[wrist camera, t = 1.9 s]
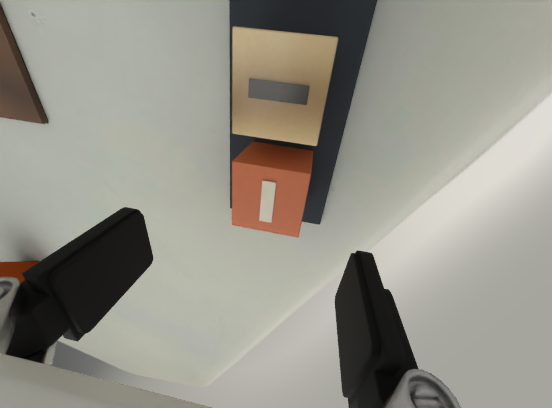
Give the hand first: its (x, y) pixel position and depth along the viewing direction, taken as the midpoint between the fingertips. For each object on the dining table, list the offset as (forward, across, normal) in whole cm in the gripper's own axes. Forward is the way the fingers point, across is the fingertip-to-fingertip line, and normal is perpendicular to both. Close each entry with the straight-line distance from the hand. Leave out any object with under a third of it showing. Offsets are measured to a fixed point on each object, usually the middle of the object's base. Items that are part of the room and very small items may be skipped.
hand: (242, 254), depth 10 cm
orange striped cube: (+9, 0, 0) cm, 9 cm away
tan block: (+9, 0, -6) cm, 11 cm away
